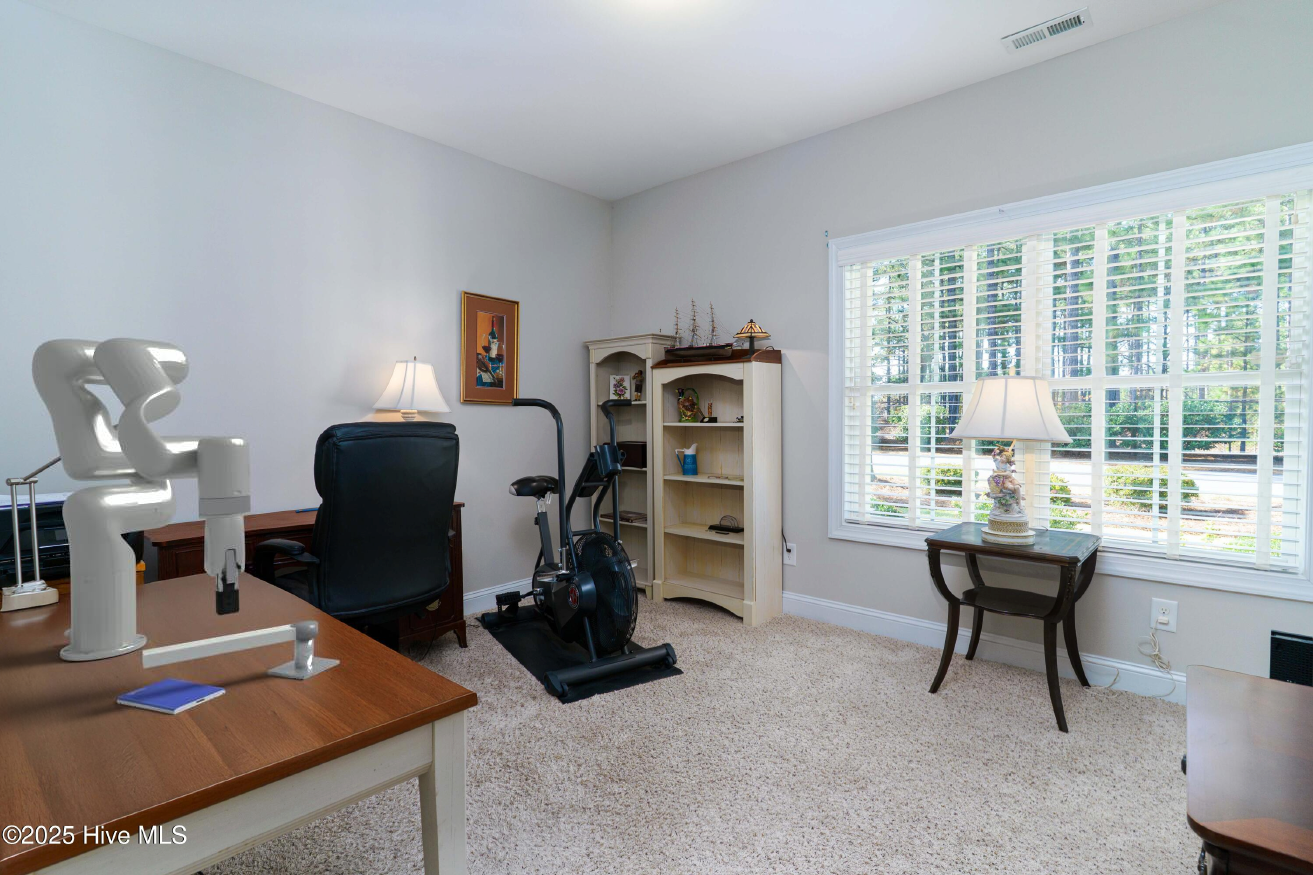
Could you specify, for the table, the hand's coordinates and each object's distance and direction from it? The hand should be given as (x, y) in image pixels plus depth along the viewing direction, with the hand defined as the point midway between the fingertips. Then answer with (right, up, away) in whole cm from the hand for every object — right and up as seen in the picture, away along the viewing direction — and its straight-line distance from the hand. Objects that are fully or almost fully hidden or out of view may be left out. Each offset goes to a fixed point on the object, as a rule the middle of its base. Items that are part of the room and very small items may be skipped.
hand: (227, 612), depth 112 cm
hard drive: (-3, -12, -9) cm, 15 cm away
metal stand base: (+12, -11, +3) cm, 16 cm away
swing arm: (+4, -5, -4) cm, 7 cm away
